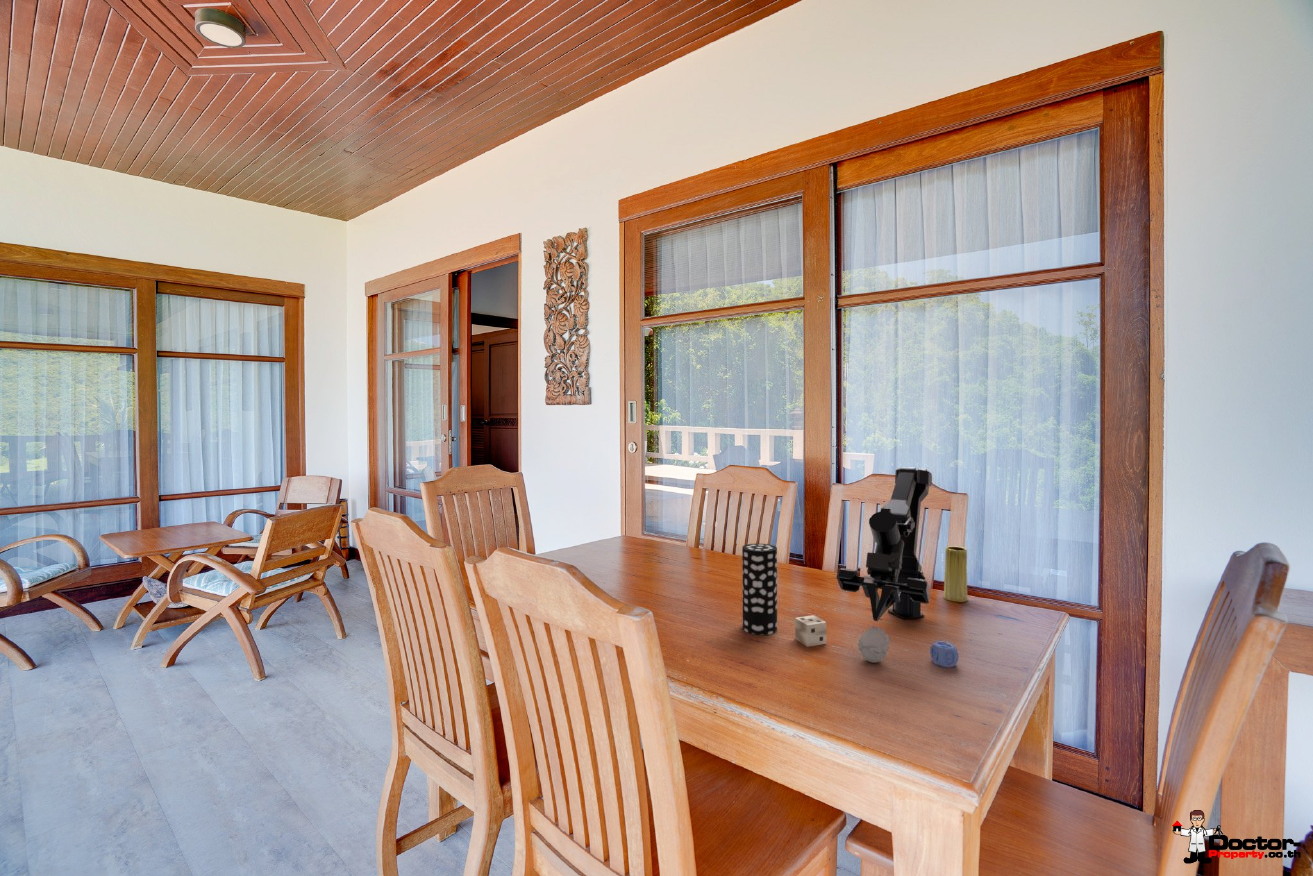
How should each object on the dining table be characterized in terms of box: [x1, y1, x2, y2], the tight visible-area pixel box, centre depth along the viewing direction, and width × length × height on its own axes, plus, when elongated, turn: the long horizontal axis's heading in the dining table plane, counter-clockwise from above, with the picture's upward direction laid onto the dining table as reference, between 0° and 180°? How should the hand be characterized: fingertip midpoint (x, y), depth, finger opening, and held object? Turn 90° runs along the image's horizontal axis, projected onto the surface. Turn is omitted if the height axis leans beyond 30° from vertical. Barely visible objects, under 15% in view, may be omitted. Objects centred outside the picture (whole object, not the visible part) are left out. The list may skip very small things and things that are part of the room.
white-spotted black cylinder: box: [741, 543, 778, 636], centre depth 142 cm, size 8×8×20 cm
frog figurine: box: [857, 626, 891, 664], centre depth 123 cm, size 6×7×7 cm
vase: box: [942, 545, 969, 603], centre depth 163 cm, size 6×6×14 cm
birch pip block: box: [794, 614, 827, 648], centre depth 134 cm, size 5×5×5 cm
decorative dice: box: [929, 640, 960, 668], centre depth 122 cm, size 4×4×4 cm
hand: (875, 620), depth 124 cm, fingers closed
